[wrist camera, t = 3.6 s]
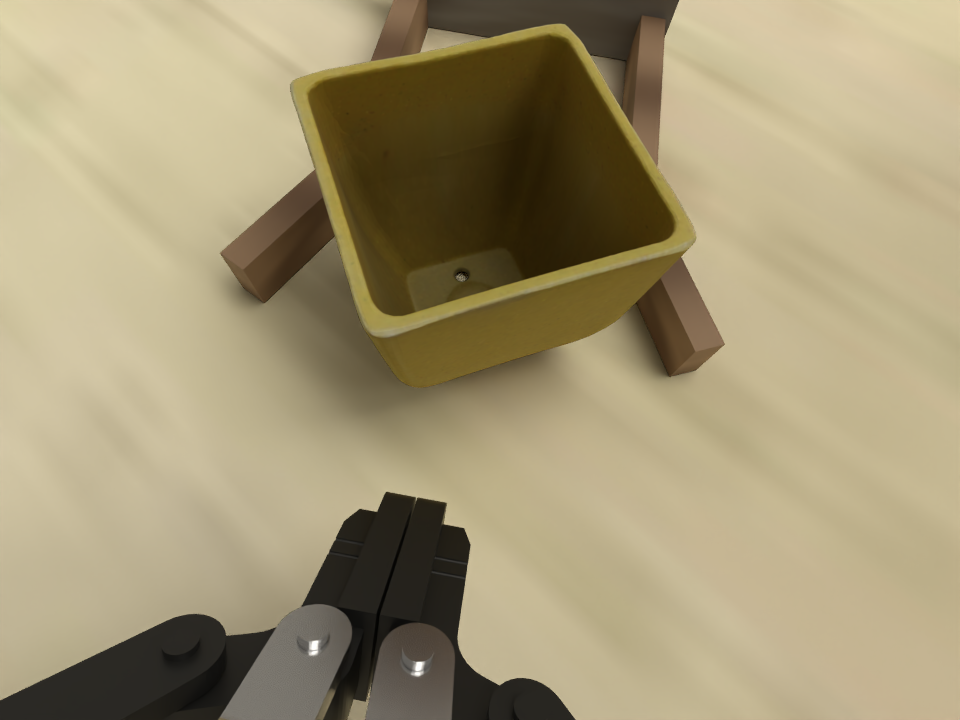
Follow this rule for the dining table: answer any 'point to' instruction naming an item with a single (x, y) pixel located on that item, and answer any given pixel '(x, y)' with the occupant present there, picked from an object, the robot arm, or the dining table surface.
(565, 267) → the flower pot
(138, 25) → the dining table surface
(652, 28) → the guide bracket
